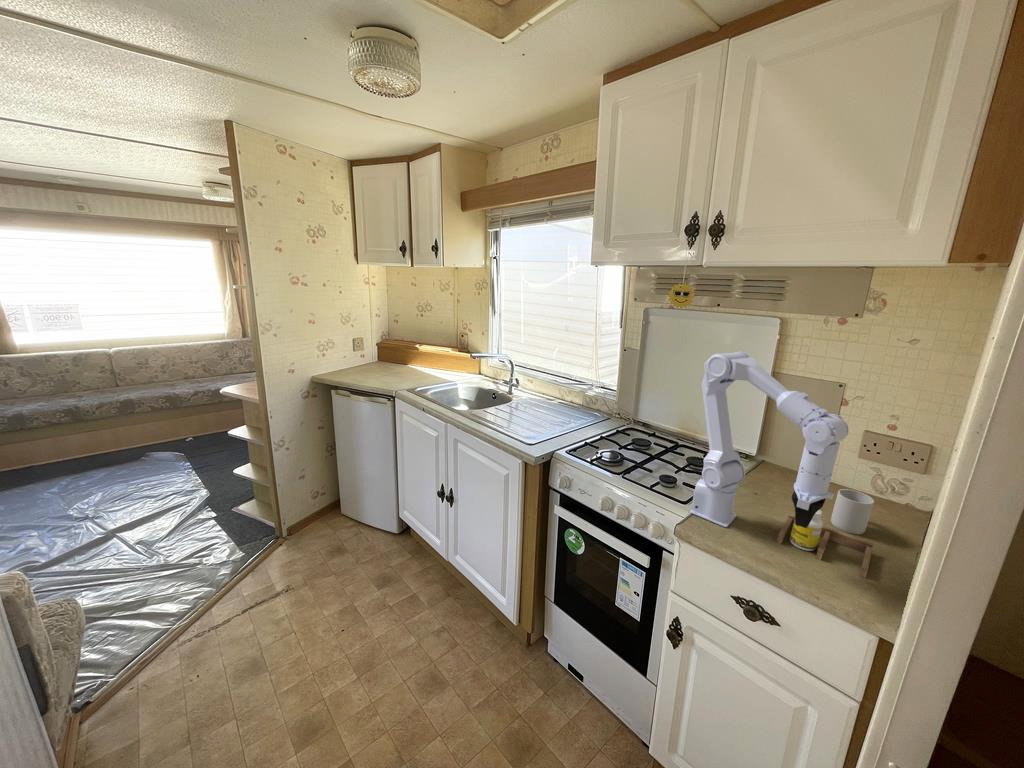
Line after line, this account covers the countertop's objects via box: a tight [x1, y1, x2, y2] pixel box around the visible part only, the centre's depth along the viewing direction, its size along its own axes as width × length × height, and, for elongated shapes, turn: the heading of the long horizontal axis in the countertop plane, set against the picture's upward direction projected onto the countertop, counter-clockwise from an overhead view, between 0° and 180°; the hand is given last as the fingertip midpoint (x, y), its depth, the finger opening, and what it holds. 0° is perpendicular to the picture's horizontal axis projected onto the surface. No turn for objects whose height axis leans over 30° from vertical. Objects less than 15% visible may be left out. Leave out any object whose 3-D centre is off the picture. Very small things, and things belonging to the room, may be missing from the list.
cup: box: [830, 488, 875, 535], centre depth 109 cm, size 7×10×9 cm
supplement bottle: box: [789, 509, 824, 552], centre depth 100 cm, size 5×5×10 cm
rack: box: [776, 514, 874, 579], centre depth 100 cm, size 17×12×2 cm
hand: (801, 525), depth 93 cm, fingers closed
